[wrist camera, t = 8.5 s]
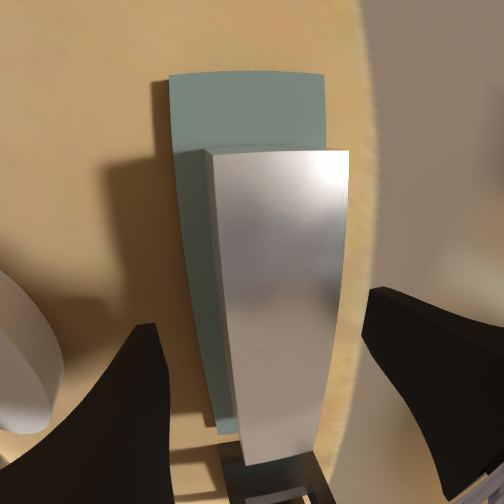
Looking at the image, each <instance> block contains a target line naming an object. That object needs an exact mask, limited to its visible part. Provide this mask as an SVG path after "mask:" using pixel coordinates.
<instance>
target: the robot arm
mask: <svg viewBox="0 0 504 504" xmlns="http://www.w3.org/2000/svg"><path fill="white" fill-rule="evenodd" d="M361 336H362V338H363V340H364V342H365V344H366V346H367V348H368V349H369V351H370V353H371V355H372V357H373V358H374V359H375V361H376V362H377V364H378V365H379V366H380V368H381V369H382V371H383V372H384V373H385V375H386V376H387V377H388V379H389V380H390V381H391V383H392V384H393V385H394V387H395V388H396V389H397V391H398V392H399V394H400V395H401V396H402V398H403V399H404V401H405V402H406V404H407V405H408V407H409V408H410V410H411V412H412V414H413V416H414V418H415V420H416V421H417V423H418V425H419V427H420V429H421V431H422V434H423V436H424V438H425V440H426V442H427V444H428V447H429V449H430V452H431V454H432V457H433V460H434V463H435V465H436V469H437V472H438V475H439V479H440V482H441V486H442V491H443V494H444V496H445V497H446V499H447V500H448V501H451V500H452V499H454V498H455V497H457V496H458V495H459V494H461V493H462V492H463V491H465V490H466V489H467V488H468V487H470V486H471V485H473V484H474V483H475V482H476V481H478V480H479V479H480V478H481V477H482V476H484V475H485V474H486V473H487V475H488V477H486V478H485V479H484V480H483V481H482V482H480V483H479V484H478V485H477V486H475V487H474V488H473V489H472V490H470V491H469V492H468V493H467V494H465V495H464V496H463V497H461V498H460V499H458V500H457V501H456V502H454V503H453V504H481V503H483V502H484V501H485V500H486V499H487V498H488V497H489V498H488V504H504V327H498V326H493V325H489V324H485V323H482V322H478V321H475V320H471V319H468V318H465V317H462V316H459V315H456V314H454V313H451V312H448V311H445V310H443V309H441V308H438V307H436V306H433V305H431V304H428V303H426V302H424V301H421V300H419V299H416V298H414V297H412V296H409V295H407V294H404V293H402V292H399V291H396V290H394V289H391V288H387V287H378V288H374V289H370V290H369V296H368V302H367V308H366V313H365V319H364V324H363V329H362V334H361ZM169 431H170V384H169V371H168V367H167V364H166V361H165V357H164V354H163V350H162V347H161V343H160V339H159V336H158V332H157V328H156V324H155V323H151V324H141V325H136V326H135V327H134V329H133V330H132V332H131V333H130V335H129V336H128V338H127V339H126V341H125V342H124V344H123V345H122V347H121V348H120V350H119V351H118V353H117V354H116V356H115V357H114V359H113V360H112V362H111V363H110V365H109V366H108V368H107V369H106V370H105V372H104V373H103V375H102V376H101V377H100V378H99V380H98V381H97V382H96V384H95V385H94V386H93V388H92V389H91V390H90V392H89V393H88V394H87V395H86V397H85V398H84V399H83V400H82V401H81V402H80V404H79V405H78V406H77V407H76V408H75V409H74V410H73V411H72V412H71V413H70V414H69V415H68V416H67V417H66V419H64V420H63V421H62V422H61V423H60V424H59V425H58V426H57V427H56V428H55V429H54V430H53V431H52V432H50V433H49V434H48V435H47V436H46V437H45V438H44V439H43V440H42V441H40V442H39V443H38V444H37V445H35V446H34V447H33V448H32V449H30V450H29V451H28V452H26V453H25V454H23V455H22V456H21V457H19V458H18V459H16V460H15V461H13V462H12V463H10V464H9V465H7V466H5V467H4V468H2V469H0V504H175V501H174V495H173V489H172V482H171V474H170V463H169Z"/></svg>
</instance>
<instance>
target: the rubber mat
mask: <svg viewBox="0 0 504 504" xmlns="http://www.w3.org/2000/svg"><path fill="white" fill-rule="evenodd" d="M169 95H170V115H171V132H172V146H173V158H174V170H175V181H176V191H177V200H178V210H179V218H180V227H181V235H182V243H183V250H184V257H185V264H186V271H187V278H188V285H189V291H190V297H191V303H192V309H193V315H194V321H195V327H196V332H197V338H198V343H199V348H200V353H201V359H202V364H203V368H204V373H205V378H206V383H207V387H208V392H209V397H210V401H211V406H212V410H213V414H214V418H215V423H216V427H217V431H218V435H225V434H231V433H237V428H236V424H235V420H234V415H233V409H232V402H231V395H230V388H229V382H228V374H227V367H226V360H225V352H224V345H223V337H222V329H221V321H220V313H219V304H218V295H217V286H216V277H215V268H214V258H213V248H212V238H211V227H210V216H209V204H208V192H207V179H206V165H205V151H204V149H207V148H219V147H232V146H249V145H272V144H306V145H313V146H320V147H326V114H325V87H324V75H321V74H310V73H296V72H277V71H223V72H203V73H190V74H179V75H169Z"/></svg>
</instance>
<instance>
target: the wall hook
mask: <svg viewBox="0 0 504 504" xmlns="http://www.w3.org/2000/svg"><path fill="white" fill-rule="evenodd" d="M63 377H64V362H63V356H62V352H61V349H60V346H59V343H58V341H57V339H56V336H55V334H54V332H53V330H52V328H51V327H50V325H49V323H48V322H47V320H46V318H45V317H44V315H43V314H42V312H41V311H40V310H39V308H38V307H37V306H36V304H35V303H34V302H33V301H32V299H31V298H30V297H29V296H28V295H27V294H26V293H25V291H24V290H23V289H22V288H21V287H20V286H19V285H18V284H17V283H16V282H14V281H13V280H12V279H11V278H10V277H9V276H7V275H6V274H5V273H4V272H2V271H1V270H0V429H2V430H5V431H9V432H13V433H18V434H33V433H37V432H40V431H42V430H43V429H44V428H46V426H47V425H48V423H49V422H50V419H51V416H52V412H53V409H54V406H55V402H56V399H57V396H58V393H59V390H60V387H61V384H62V381H63ZM5 466H7V464H6V463H4V461H3V460H2V459H1V458H0V469H2V468H4V467H5Z"/></svg>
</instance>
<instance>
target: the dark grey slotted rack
mask: <svg viewBox="0 0 504 504" xmlns="http://www.w3.org/2000/svg"><path fill="white" fill-rule="evenodd" d="M218 447H219V453H220V458H221V463H222V468H223V473H224V478H225V483H226V488H227V493H228V497H229V502H230V504H305V503H304V500H303V497H302V496H304V495H308V497H309V500H310V502H311V504H336V502H335V500H334V498H333V495H332V493H331V491H330V489H329V486H328V484H327V482H326V480H325V477H324V475H323V473H322V471H321V468H320V466H319V464H318V461H317V459H316V457H315V454H314V452H313V450H312V451H309V452H305V453H302V454H298V455H294V456H290V457H286V458H282V459H278V460H273V461H268V462H264V463H259V464H253V465H248V466H246V465H245V461H244V457H243V453H242V449H241V445H240V441H237V442H231V443H224V444H218Z"/></svg>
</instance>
